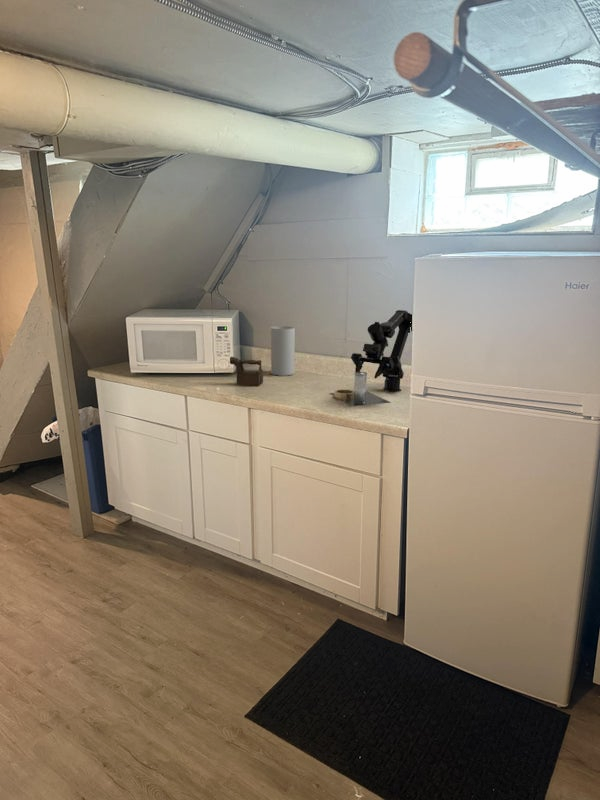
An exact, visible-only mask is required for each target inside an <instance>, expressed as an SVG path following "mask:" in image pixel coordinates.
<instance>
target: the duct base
mask: <svg viewBox="0 0 600 800" xmlns="http://www.w3.org/2000/svg"><path fill="white" fill-rule="evenodd" d="M328 395H331V396H332V397H334V398H336V399H338V400H339V401H341V402H343V403H345V404H346V405H348V406H350V407H356V406H358V407H359V406H369V405H377V404H378V405H379V404H380V405H381V404H391V403H392V402H391V401H388V400H386V399H384V398H383V397H380V396H379V395H377V394H375V393H372V392H371V391H368V390H366V402H365V404H355V403H354V389H353V390H351V389H337V390H335V391H334V392H330V393H328Z"/></svg>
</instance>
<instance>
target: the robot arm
mask: <svg viewBox="0 0 600 800" xmlns="http://www.w3.org/2000/svg"><path fill="white" fill-rule="evenodd" d="M412 315H413V314H412V313H409V312H408V311H407V310H401V309H398V310H396V311H395V313H394V314H393V315H392V316H391V317H390V318H389V319H388V320H387V321H386V322H382V323H380V322H379V321H375V322H374V323H372V324H370V325H369V326H368V327H367V332H368V334H369V338H371V341H373V343H372V344H371V343H364V345H363V347H362V352H364V353H365V356H363V355H362V353H356V352H354V353H353V352H352V354H351V356H350V359H351V361H352V363H353V365H355V370H354V371H355V372H361V370H362V369H363V366H364V363H370V364H375V365H377V364H378V367H377V370H376V372H375V374H374V379H377V378H379V377H380V376H382V378H383V377H384V383H383V385H384V387H383V389H384V390H385V391H388V392H399V391H402V389H401V386H400V385H401V379H403V378H404V371H403V368H402V366H403V365H402V362H401V358H402V354H403V351H404V349H405V345H406V342H407V339H408V336H409V334H410V333H411V332H412V331H413V330H412ZM410 322H411V323H410ZM410 327H411V332H410ZM397 328H398V332H397V335H396V337H395V341H394V344H393V348H392V350H391V353H390V355H389V356H385V355H384V351H385V349H386V347H389V341H388V339H392V338H393V337H394V336H395V333H396V331H395V330H396V329H397ZM408 333H409V334H408ZM387 338H388V339H387ZM355 372H354V373H355Z"/></svg>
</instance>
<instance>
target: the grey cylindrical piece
mask: <svg viewBox="0 0 600 800" xmlns="http://www.w3.org/2000/svg"><path fill="white" fill-rule="evenodd" d="M367 375H368V373H367V372H365V371H360V372H354V383H353V386H354V387H353V391H354V403H355V404H365V402H366V391H367Z"/></svg>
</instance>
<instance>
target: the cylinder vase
mask: <svg viewBox="0 0 600 800" xmlns="http://www.w3.org/2000/svg"><path fill="white" fill-rule="evenodd" d="M295 333H296V332H295V327H294V326H287V325H286V326H285V325H284V326H283V325H281V326H280V325H279V326H277V325H276V326H271V327H270V338H271V339H270V347H271V348H270V372H271V373H270V374H272V375H273V376H276V375H278V376H279V377H288V375H289V376H292V375H294V374H295V343H296V341H295V340H296V339H295V335H296V334H295Z"/></svg>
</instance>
